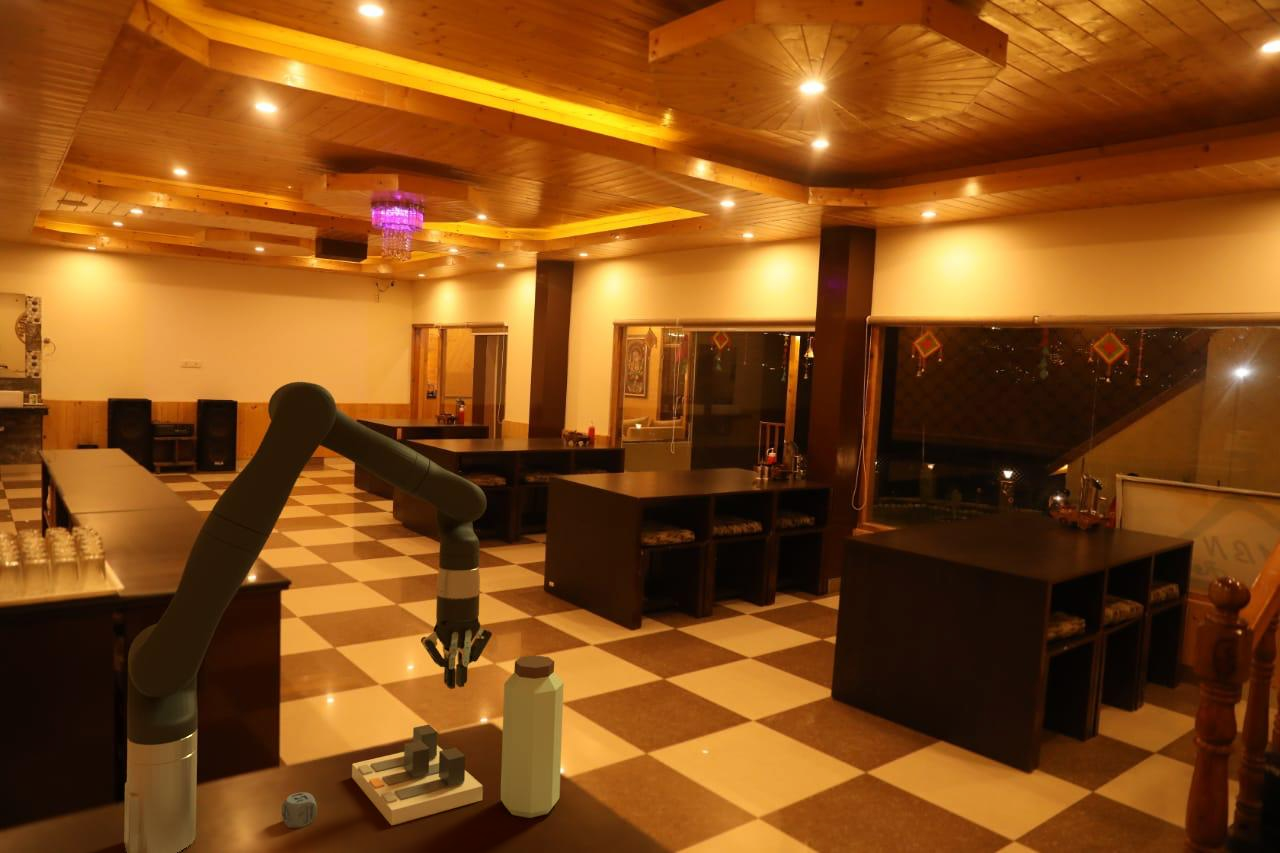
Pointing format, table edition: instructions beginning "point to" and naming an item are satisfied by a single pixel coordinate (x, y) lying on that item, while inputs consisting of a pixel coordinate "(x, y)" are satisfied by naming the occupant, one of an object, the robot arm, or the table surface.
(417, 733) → the block
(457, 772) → the block
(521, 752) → the water bottle
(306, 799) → the decorative dice
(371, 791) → the breaker panel
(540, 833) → the table surface
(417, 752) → the block
